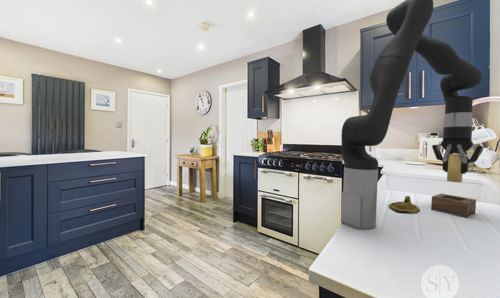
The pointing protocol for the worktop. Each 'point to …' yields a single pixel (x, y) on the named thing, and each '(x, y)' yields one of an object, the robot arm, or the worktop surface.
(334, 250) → the worktop surface
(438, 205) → the socket block
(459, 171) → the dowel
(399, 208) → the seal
